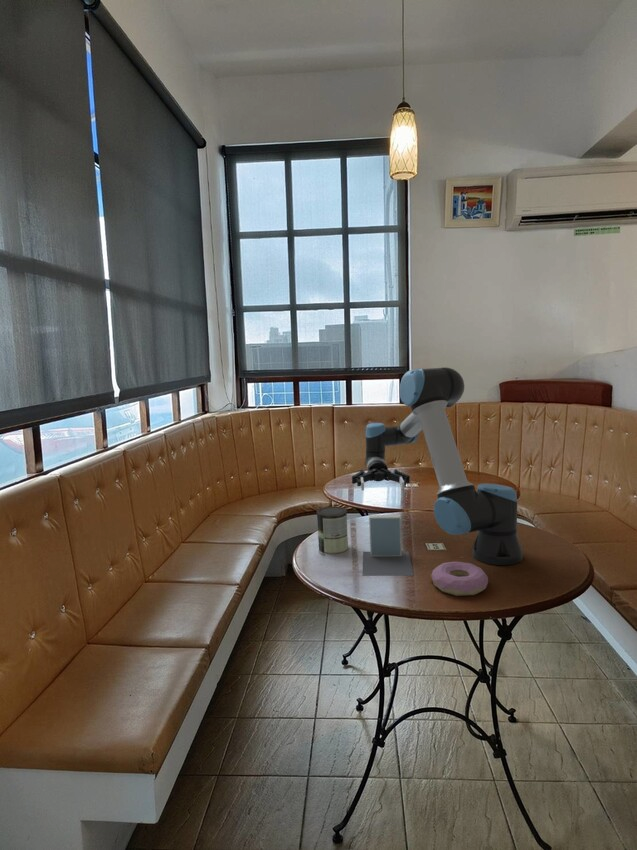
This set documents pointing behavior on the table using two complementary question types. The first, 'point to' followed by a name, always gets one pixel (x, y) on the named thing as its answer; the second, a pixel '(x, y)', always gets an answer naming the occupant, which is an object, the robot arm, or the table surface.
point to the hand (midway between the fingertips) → (383, 486)
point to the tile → (385, 535)
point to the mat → (387, 565)
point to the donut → (459, 578)
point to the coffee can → (332, 530)
